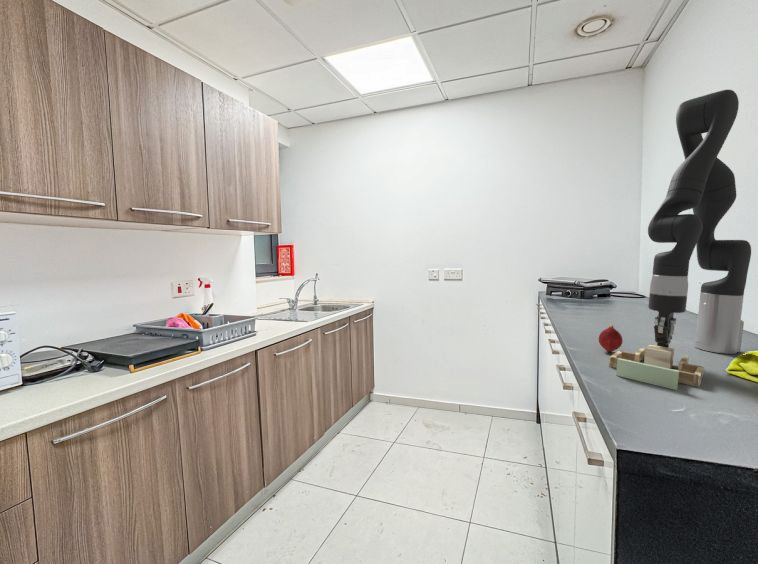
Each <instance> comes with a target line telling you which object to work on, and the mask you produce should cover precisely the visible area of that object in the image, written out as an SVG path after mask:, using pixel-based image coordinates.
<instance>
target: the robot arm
mask: <svg viewBox="0 0 758 564" xmlns="http://www.w3.org/2000/svg"><path fill="white" fill-rule="evenodd" d="M739 103H740V101H739V97H738V94H737V93H736V92H735V91H734V90H733V89H722V90H719V91H715V92H711V93H708V94H705V95H701V96H698V97H694V98H690V99H688V100H685V101H682V102H681V103H680V104H679V106H678V107H677V109H676V113H675V124H676V129H677V130H676V131H677V135H678V138H679V141H680V145H681V148H682V152H683V156H684V161H682V162H681V164H680V165H679V166H678V167H677V168H676V170H675V171H674V173H673V175H672V177H671V180H670V183H669V186H668V188H667V192H666V196H665V199H664V200H663V202H662V203H661V204H660V206H659V207H658V209H657V210H656V212H655V213H654V214H653V216H652V218H651V220H650V221H649V223H648V226H647V234H648V237H649V239H650V240H651V241H652V242H655V243H660V244H664V243H665V244H669V243H670V244H671V243H672V244H673V243H674V244H675V243H676V244H675V246H674V247H673V248H672V249H671V250H668V251H662V252H657V253H656V254H655V255H654V258H653V267H652V276H651V280H650V285H649V295H648V309H649V310H651V311H654V312H655V311H656V312H658V315H656V316H655V317H654V322H653V323H654V326H653V329H654V342H655V343H656V344H657V345H656V346H661V347H667V348H670V347H669V346H670V344H672V343H671V342H672V339H673V335H674V332H675V325H676V324H677V318H676V317H674V316H675V314H683V313H685V312H686V310H687V302H688V301H687V300H688V293H689V289H688V288H689V268H690V261H691V257H692V255H693V254H694V251H695V249H696V257H697V259H696V260H697V263H698V265H699V268H701V269H702V270H705V271H716V272H717V271H718V272H719V271H720V272H727V274H726V276H725V277H722V278H719V279H716V280H712V281H708V282H703V283H702V284H701V286H700V295H699V302H698V303H699V305H698V311H697V320H696V321H697V322H696V330H695V340H694V347H695V348H696V349H699V350H703V351H706V352H707V351H708V352H710V353H711V352H713V353H719V354H729V355H731V354H732V355H734V354H735V355H736V354H737V352H740V353H741V350H742V349H741V348H742V339H743V334H744V333H743V332H744V323H745V322H744V321H743V320H741V319H742V311H743V303H744V295H745V289H746V285H747V278H748V273H749V267H750V262H751V256H752V246H751V243H750V242H749V241H748V240H745V239H716V238H715V231H716V228H717V226H718V224H719V223H720V222H721V220H722V219H723V218H724V216H725V215H726V214H727V213H728V212H729V211H730V209H731V207H732V206H733V205H734V203H735V201H736V198H737V184H736V177H735V173H734V172H733V170H732V169H731V168H730V166H728V165H727V164H725V162H723V161H722V160H721V159H720V158H719V157H718V155H719V154H720V152H721V150H722V147H723V145H724V144H725V142H726V140H727V138H728V135H729V134H730V132H731V130H732V128H733V126H734V123H735V121H736V118H737V116H738V113H739V112H738V111H739V107H740V106H739ZM705 133H706V135H705V136H704V138H703V134H705ZM687 210H692V211H693V212H692V213H688V214H687V213H685V214H683V213H682V212H685V211H687ZM681 213H682V214H681ZM695 247H696V248H695Z"/></svg>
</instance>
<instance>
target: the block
mask: <svg viewBox="0 0 758 564" xmlns="http://www.w3.org/2000/svg"><path fill="white" fill-rule="evenodd" d="M674 354H675V348H672V347H669V348H667V347H661V346H657V345H654V344H649V345H648V344H647V346H646V347H645V358H644V359H643V360H644V361H643V363H644V364H649V365H654V366H658V367H663V368H668V369H673V365H674V364H673V363H674Z"/></svg>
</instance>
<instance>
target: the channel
mask: <svg viewBox="0 0 758 564" xmlns="http://www.w3.org/2000/svg"><path fill="white" fill-rule="evenodd" d="M645 348H646V347H645ZM645 348H644V347H641V348H639V349H638V350H637V351H635V352H629V351H625V350H618V351H616V352H614V353H613V354H611V355H610V356H609V358H608V368H613V369H617V360H618V358H620V359H625V360H629V361H634V362H639V363H641V362H642V361H643V360H644V359H643V358H645ZM642 359H643V360H642ZM641 360H642V361H641ZM689 360H690V359H689V356H688V355H683V356H682V357H681V358H680V360H679V362H678V363H677V364H678V366H677V370H678V371H679V378H678V384H684V385H689V386H693V387H697V388H699V387H700V386H701V382H702V381H703V378H704V371H705V367H704V366H701V365H696V364H691V363H689ZM640 361H641V362H640Z"/></svg>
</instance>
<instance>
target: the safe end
mask: <svg viewBox="0 0 758 564" xmlns="http://www.w3.org/2000/svg"><path fill="white" fill-rule="evenodd" d="M615 373H616V374H615V375H616V376H617V377H622V378H626V379H628V380H634V381H637V382H642V383H646V384H650V385H654V386H658V387H661V388H667V389H670V390H675V391H678V387H679V386H678V385H679V382H678V378H679V371H678V369H673V368H672V369H668V368H663V367H658V366H654V365H649V364H644V362H634V361H629V360H625V359H620V358H618V360H617V368H616V372H615Z"/></svg>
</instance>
